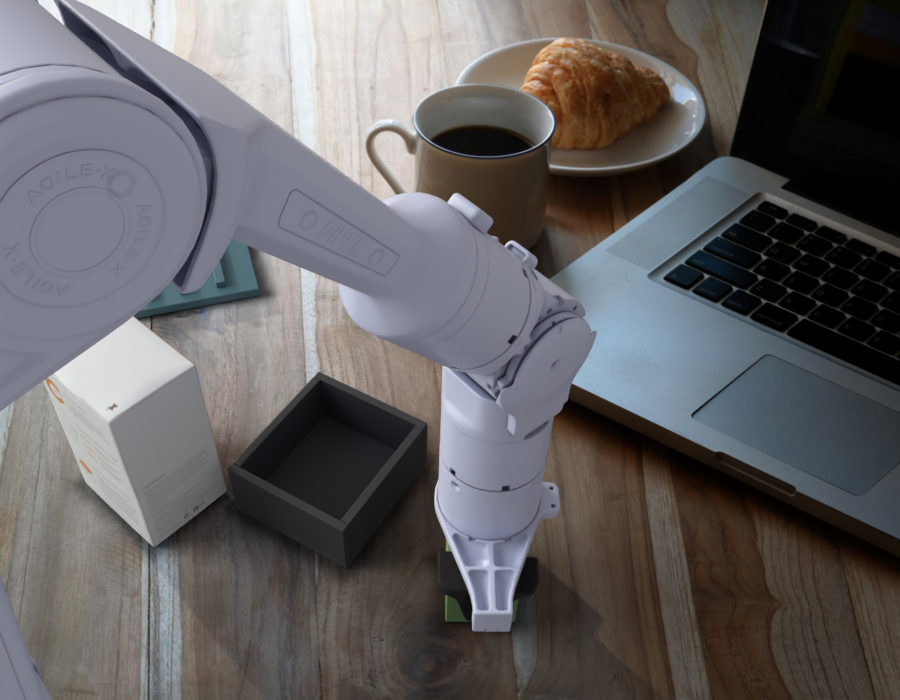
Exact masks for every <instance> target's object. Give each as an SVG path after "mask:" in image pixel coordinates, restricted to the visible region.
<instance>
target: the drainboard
mask: <svg viewBox="0 0 900 700" xmlns="http://www.w3.org/2000/svg"><path fill="white" fill-rule="evenodd" d="M260 295H261V291H260V286H259V282H258V279H257V276H256V271H255V268H254V264H253V260H252V256H251V253H250V249H249V246H247V245H245V244H243V243H240V242H238V241H235V240H230V242H229V244H228V247H227V249H226V251H225V252H224V254H223V256H222V258H221V259H220V261H219V263H218V264H217V266H216V267H215V269H214V270H213V272H212V273H211V275H210V276H209V278H208V279H207V280H206V282H205V283H204V284H203V286H202V287H201V288H200V289H199V290H197V291H195V292H191V293H187V294H181V293H180V292H179V291H178V290H177V289H176V288H175V287H174V285H173V284H172V283H171V282H170V283H169V284H168V285H167V286H166V287H165V288H164V290H163V291H162V292H161V293H160V294H159V295H158V296H156V297H155V298H154V299H153V300H152V301H151V302H150V303H148V304H147V305H146V306H145V307H144V308H143V309H141V310H140V311H139V312H138V313H136V314H135V315H134V317H135V318H137V319H141V318H146V317H153V316H157V315H163V314H169V313H173V312H179V311H184V310H189V309H195V308H199V307H205V306H211V305H215V304H221V303H226V302H227V303H228V302H233V301H236V300H243V299H248V298H253V297H258V296H260Z"/></svg>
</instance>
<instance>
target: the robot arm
mask: <svg viewBox="0 0 900 700" xmlns="http://www.w3.org/2000/svg"><path fill="white" fill-rule="evenodd" d="M53 2H54V4H55V6H56V8H57V9H58V11H59V15H60V18H61V20H62V22H61V21H60V20H59V19H57V17H55V16H54V15H53V14H52V13H51V12H50V11H48V10H47V9H46V8H45V7H44V6H43V5H42V4H40V2H39V0H0V412H2V411H4V410H5V409H6V408H8V407H9V406H10V405H12V404H13V403H14V402H16V401H17V400H19V399H20V398H22V397H23V396H25V395H26V394H27V393H28V392H30V391H31V390H33V389H34V388H36V387H37V386H38V385H40V384H41V383H44V382H43V381H44V380H45V379H47V378H48V377H50V376H51V375H52V374H54V373H55V372H57V371H58V370H59V369H61V368H62V367H64V366H65V365H66V364H68V363H69V362H71V361H72V360H73V359H75V358H76V357H78V356H79V355H80V354H82V353H83V352H85V351H86V350H87V349H89V348H90V347H92V346H93V345H95V344H96V343H97V342H99V341H100V340H102V339H103V338H104V337H106V336H107V335H109V334H110V333H111V332H113V331H114V330H116V329H117V328H118V327H120V326H121V325H123V324H124V323H125V322H127V321H128V320H129V319H130V318H132V317H133V316H134V315H135V314H136V313H138V312H139V311H140V310H141V309H143V308H144V307H145V306H146V305H147V304H148V303H150V302H151V301H152V300H153V299H154V298H155V297H156V296H158V295H159V294H160V293H161V292H162V291H163V290H164V288H165V287H166V286H167V285H168V284H169V283H170V282H171V283H172V284H173V285H174V287H175V288H176V289H177V290H178V291H179V292H180V293H181V294H187V293H191V292H195V291H197V290H199V289H200V288H201V287H202V286H203V284H204V283H205V282H206V280H207V279H208V278H209V276H210V275H211V273H212V272H213V270H214V269H215V267H216V266H217V264H218V263H219V261H220V259H221V258H222V256H223V254H224V252H225V251H226V249H227V247H228V244H229V242H230V240H235V241H238V242H240V243H243V244H245V245H247V246H248V247H251V248H253V249H254V250H257V251H260V252H262V253H265V254H266V255H269V256H272V257H274V258H277V259H278V260H281V261H283V262H285V263H289V264H291V265H294V266H296V267H298V268H300V269H303V270H305V271H308V272H311V273H313V274H315V275H317V276H320V277H323V278H324V279H327V280H330V281H332V282H335V283H337V288H338V293H339V298H340V300H341V304H342V305H343V308H344V310H345V311H346V313H347V315H348V316H349V318H350V319H351V320H352V321H353V323H355V324H356V326H358V327H359V328H360V329H362V330H363V331H365V332H366V333H369V334H371V335H373V336H375V337H378V338H380V339H382V340H383V341H387V342H388V343H391V344H393V345H396V346H397V347H400V348H403V349H405V350H407V351H409V352H411V353H413V354H416V355H418V356H420V357H422V358H425V359H427V360H428V361H429V360H430V361H432V362H433V363H436V364H439V365H441V391H440V392H441V393H440V394H441V395H440V396H441V397H440V399H441V400H440V404H441V405H440V406H441V407H440V430H439V431H440V433H439V454H438V467H437V469H438V472H437V474H438V475H437V476H438V479H437V482H436V485H435V488H434V499H433V501H434V504H433V505H434V511H435V514H436V517H437V520H438V522H439V525H440V527H441V529H442V532H443V534H444V536H445V540H446V539H447V541H448V544H449V546H450V548H451V551H446V550H439V551H437V582H438V586H439V589H440V591H441V593H442V595H444V596H445V595H447V596H450V597H452V598H454V599H456V600H457V602H458V604H459V607H460V610H461V612H462V614H463V616H464V618H465V619H466V620H467V621H472V622H471V630H472V632H484V633H487V632H488V633H497V632H499V633H503V632H504V633H505V632H507V633H509V632H511V628H512V623H513V622H512V616H513V601H515V600H517V599H518V600H520V599H523V598H528V597H532V596H534V595H535V593H536V591H537V589H538V586H539V582H540V574H539V562H538V561H539V560H538V556H528V554H529V551H530V548H531V545H532V542H533V539H534V536H535V533H536V531H537V528H538V525H539V524H540V522H541V521H542V520H544V519H546V520H547V519H549V520H550V519H555V518H557V517H558V516H559V515H560V514H559V513H560V508H561V499H560V491H559V487H558V485H557V484H555V483H554V482H549V481H544V476H545V471H546V465H547V459H548V454H549V449H550V448H549V447H550V443H551V436H552V429H553V424H554V417H555V416H556V415H558V414H559V413H560V412H561V411H562V410H563V408H564V405H565V404H566V403H567V402H568V400H569V395H570V392H571V391H570V390H571V386H572V383H573V381H574V379H575V377H576V376H577V374H578V373H579V371H580V370H581V369H582V367H583V366H584V364H585V362H586V361H587V359H588V357H589V356H590V353H591V351H592V349H593V346H594V344H595V341H596V338H597V333H598V331H597V330H593V331H592V328H591V326H590V324H589V322H587V321H586V319H585V318H584V317H585V316H586V314H587V313H586V309H585V307H584V306H583V304H582V303H581V302H580V301H579V300H577V299H576V298H574V296H572V295H571V294H570V293H568V292H566V291H565V290H564V289H563V288H561V287H560V286H559V285H557V284H556V283H554V282H553V281H552V280H551V279H549V278H547V277H546V276H545V275H544V274H542V273H541V272H539V270H537V269H536V267H537V265H538V258H537V256H536V255H534V254H533V253H532V252H531V251H529V250H528V249H527V248H525V247H523V246H522V245H521V244H520V243H518V242H517V241H515V240H509V241H508V242H507V241H506V243H505V245H504V244H502V243H501V242H500V239H499V237H498V236H495V235H490V234H489V233H488V232H489V230H490V228H491V227H492V226H493V224H494V219H493V218H492V217H491V215H489V214H487V213H486V212H485V211H484V210H483V209H481V208H480V207H479V206H477V205H476V204H474V203H473V202H471V200H469V199H468V198H466V197H464V195H462V194H461V193H459V192H455V193H453V194H452V195H451V196H450V198H449V199H448V200H447V201H445V200H444V199H442V198H440V197H438V196H436V195H433V194H430V193H426V192H421V191H418V192H417V191H416V192H415V191H413V192H411V191H410V192H403V193H399V194H395V195H393V196H390V197H388V198H385V199H383V200H381V199H379V198H378V197H377V196H375V195H374V194H372V193H371V192H370V191H368V190H367V189H366V188H364V187H363V186H362V185H360V184H359V183H358V182H356V181H355V180H354V179H352V178H351V177H350V176H348V175H347V174H345V173H344V172H343V171H341V170H340V169H339V168H337V167H336V166H335V165H333V164H332V163H330V162H329V161H328V160H326V159H325V158H324V157H322V156H321V155H320V154H318V152H316V151H314V150H313V149H311V148H310V147H309V146H307V145H306V144H304V143H303V142H302V141H301V140H300V139H298V138H296V137H295V136H293V135H292V134H291V133H290V132H289V131H287V130H285V129H284V128H283V127H281V126H280V125H278V124H277V123H276V122H274V121H273V120H272V119H270V117H268V116H267V115H265V114H264V113H262V112H261V111H260V110H258V108H255V107H254V106H253V105H252V104H250V103H249V102H248V101H246V100H245V99H243V98H242V97H241V96H240V95H238V94H236V93H235V92H234V91H233V90H231V89H230V88H228V87H227V86H226V85H224V84H223V83H222V82H220V81H219V80H218V79H216V78H214V77H213V76H212V75H210V74H209V73H207V72H206V71H204V70H202V69H201V68H200V67H197V66H195V65H194V64H192V63H190V62H189V61H187V60H185V59H183V58H182V57H180V56H178V55H176V54H175V53H173V52H172V51H169V50H167V49H166V48H164V47H162V46H161V45H159V44H157V43H155V42H153V41H152V40H150V39H148V38H147V37H144V36H143V35H141V34H140V33H138V32H136V31H134V30H132V29H131V28H129V27H127V26H125V25H124V24H122V23H120V22H118V21H117V20H115V19H113V18H111V17H110V16H107V15H106V14H104V13H102V12H100V11H98V10H97V9H95V8H93V7H91V6H90V5H87V4H86V3H83V2H81V1H79V0H53ZM0 700H54V699H53V697H52V696H51V694H50V692H49V690H48V688H47V686H46V685H45V683H44V675H43V673H42V672H41V669H40V668H39V665H38V662H37V661H36V660H35V658H33V657H32V656H30V653H29V650H28V648H27V645H26V642H25V639H24V636H23V634H22V630H21V628H20V626H19V623H18V620H17V617H16V614H15V611H14V608H13V605H12V603H11V600H10V597H9V595H8V592H7V589H6V586H5V584H4V581H3V578H2V575H1V574H0Z"/></svg>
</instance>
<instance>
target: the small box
mask: <svg viewBox="0 0 900 700" xmlns="http://www.w3.org/2000/svg"><path fill="white" fill-rule="evenodd" d="M42 383H43V384H44V386H45V389H46V391H47V393H48V395H49V398H50V400H51V403H52V405H53V408H54V410H55V412H56V415H57V417H58V420H59V422H60V424H61V427H62V429H63V432H64V434H65V436H66V438H67V441H68V443H69V445H70V448H71V450H72V453H73V455H74V459H75V460H76V462H77V465H78V468H79V470H80V472H81V475H82V477H83V479H84V482H85V484H86V485H87V486H88V487H89V488H90V489H91V490H92V491H93V492H95V493H96V495H97V496H98V497H100V498H101V499H102V500H103V501H104V502H105V503H106V504H107V505H108V506H109V507H110V508H111V509H112V510H113V511H114V512H115V513H116V514H117V515H118V516H119V517H121V518H122V519H123V520H124V521H125V522H126V523H127V524H128V525H129V526H130V527H131V528H132V529H133V530H134V531H135V532H136V533H137V534H138V535H140V536H141V538H143V539H144V540H145V541H146V542H147V543H148V544H149V545H150V546H152V547H154V548H156V547H157V546H158V545H160V544H161V543H162V542H164V541H165V540H166V539H167V538H169V537H170V536H172V535H173V534H174V533H175V532H177V531H178V530H179V529H181V528H183V526H184V525H186V524H187V523H189V521H191V520H192V519H193V518H195V517H196V516H197V515H199V514H200V513H201V512H202V511H204V510H205V509H206V508H207V507H209V506H210V505H211V504H212V503H214V502H215V501H216V500H218V499H219V498H221V496H223V495H224V494H225V493H226V492H228V491H227V490H228V489H227V485H226V481H225V477H224V473H223V469H222V465H221V462H220V458H219V454H218V450H217V446H216V442H215V438H214V434H213V430H212V426H211V425H212V424H211V422H210V417H209V415H208V414H209V413H208V410H207V406H206V402H205V399H204V395H203V390H202V387H201V383H200V379H199V374H198V370H197V367H196V363H194V361H192V360H190V359H189V358H188V357H186V356H185V355H184V354H183V353H181V352H180V351H179V350H177V349H176V348H175V347H174V346H173V345H171V344H170V343H169V342H167V341H166V340H165V339H163V338H162V337H160V335H158V334H157V333H156V332H155V331H153V330H152V329H151V328H149V327H148V326H147V325H146V324H144V323H143V322H142V321H140V319H139V318H135V317H134V316H133V317H132V318H130V319H129V320H128V321H127V322H125V323H124V324H123V325H121V326H120V327H118V328H117V329H116V330H114V331H113V332H111V333H110V334H109V335H107V336H106V337H104V338H103V339H102V340H100V341H99V342H97V343H96V344H95V345H93V346H92V347H90V348H89V349H87V350H86V351H85V352H83V353H82V354H80V355H79V356H78V357H76V358H75V359H73V360H72V361H71V362H69V363H68V364H66V365H65V366H64V367H62V368H61V369H59V370H58V371H57V372H55V373H54V374H52V375H51V376H50V377H48V378H47V379H45V380H44V381H43V382H42Z"/></svg>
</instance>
